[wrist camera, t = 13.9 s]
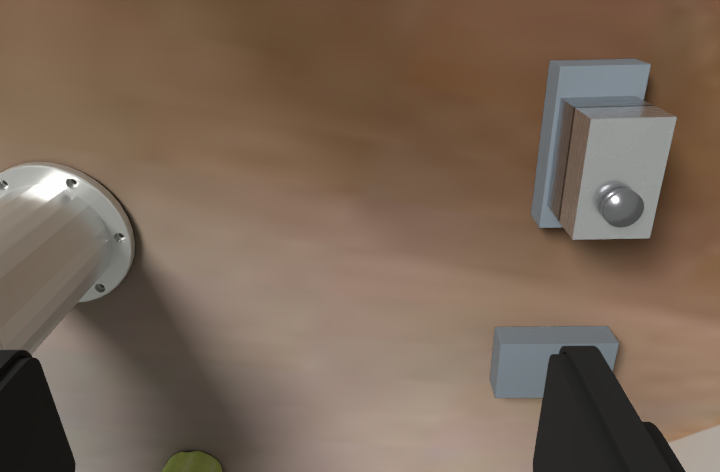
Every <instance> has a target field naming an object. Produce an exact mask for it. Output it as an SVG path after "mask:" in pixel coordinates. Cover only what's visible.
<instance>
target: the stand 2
mask: <svg viewBox="0 0 720 472" xmlns="http://www.w3.org/2000/svg"><path fill="white" fill-rule="evenodd" d="M562 346H596V347H597V348H598V349H599V350H600V352H601V353H602V355H603V357H604V358H605V360H606V362H607V363H608V365H609V367H610V369H611V370H612V372H613V368H614V364H615V359H616V355H617V350H618V346H619V342H618V341H617V339H616V338H615V336H614V335H613V333H612V332H611V330H610V329H609V327H608V326H559V327H495V332H494V342H493V352H492V362H491V372H490V382H491V385H492V389H493V393H494V396H495V398H543V394H544V388H545V381H546V375H547V368H548V362H549V358H550V356H551V355H552V354H559V351H560V349H561V347H562Z"/></svg>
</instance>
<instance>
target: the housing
mask: <svg viewBox="0 0 720 472" xmlns="http://www.w3.org/2000/svg"><path fill="white" fill-rule="evenodd" d="M676 118H677V117H676V116H674V115H672V114H670V113H668V112H666V111H664V110H662V109H660V108H658V107H656V106H654V105H652V104H650V103H648V102H646V101H644V100H642V99H640V98H638V97H636V96H606V97H569V98H560V106H559V114H558V122H557V129H556V137H555V145H554V153H553V161H552V169H551V177H550V184H549V192H548V200H547V206H548V207H549V208H550V210H551V211H552V213H553V214H554V215H555V217H556V218H557V219H558V221H559V222H560V223H561V225H562V226H563V228H564V229H565V230H566V232H567V233H568V234H569V236H570V237H571V239H572V240H586V239H641V238H650V235H651V231H652V226H653V222H654V217H655V213H656V208H657V204H658V199H659V195H660V190H661V186H662V181H663V177H664V172H665V168H666V163H667V159H668V154H669V150H670V145H671V141H672V136H673V132H674V127H675V123H676Z"/></svg>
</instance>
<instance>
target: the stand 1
mask: <svg viewBox="0 0 720 472" xmlns="http://www.w3.org/2000/svg"><path fill="white" fill-rule="evenodd" d="M650 66H651V64H649V63H646V62H643V61H640V60H637V59H602V60H559V61H550V62H549V70H548V78H547V86H546V95H545V103H544V111H543V119H542V128H541V136H540V144H539V153H538V161H537V169H536V177H535V186H534V194H533V202H532V210H531V215H532V217H533V219H534V220H535V222H536V223H537V225H538V226H539V228H560V227H563V226H562V225H561V223H560V222H559V221H558V219H557V218H556V217H555V215H554V214H553V213H552V211H551V210H550V208H549V207H548V206H547V200H548V192H549V184H550V177H551V169H552V161H553V153H554V145H555V137H556V129H557V122H558V114H559V106H560V98H569V97H606V96H636V97H638V98H640V99H642V100H644V96H645V91H646V86H647V81H648V76H649V71H650Z"/></svg>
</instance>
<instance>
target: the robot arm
mask: <svg viewBox="0 0 720 472" xmlns="http://www.w3.org/2000/svg"><path fill="white" fill-rule="evenodd" d="M134 254H135V240H134V234H133V229H132V227H131V224H130V222H129V219H128V216H127V215H126V213H125V212H124V210H123V208H122V207H121V205H120V203H119V202H118V201H117V200H116V199H115V198H114V197H113V195H112V194H111V193H110V192H109V191H108V190H107V189H105V188H104V187H103V186H102V185H101V184H100V183H98V182H97V181H96V180H94V179H92V178H91V177H89V176H87V175H86V174H84V173H82V172H80V171H78V170H75V169H73V168H70V167H68V166H64V165H60V164H56V163H49V162H30V163H23V164H20V165H17V166H14V167H11V168H9V169H7V170H5V171H3V172H1V173H0V472H75V460H74V457H73V454H72V451H71V449H70V446H69V443H68V440H67V437H66V434H65V432H64V429H63V426H62V423H61V420H60V417H59V415H58V412H57V409H56V406H55V403H54V400H53V398H52V395H51V392H50V389H49V386H48V383H47V381H46V378H45V375H44V372H43V369H42V366H41V364H40V362H39V360H38V359H36V358H33V357H32V356H31V355H32V354H33V352H34V351H35V350H36V349H37V348H38V347H39V346H40V344H41V343H42V342H43V341H44V340H45V339H46V338H47V337H48V335H49V334H50V333H51V332H52V331H53V330H54V329H55V327H56V326H57V325H58V324H59V323H60V322H61V321H62V320H63V318H64V317H65V316H66V315H67V314H68V313H69V312H70V310H71V309H72V308H73V307H74V306H75V305H76V304H77V303H79V302H88V301H91V300H95V299H98V298H100V297H102V296H104V295H106V294H108V293H110V292H111V291H112V290H113V289H115V288H116V287H117V286H118V285H119V284H120V283H121V281H122V280H123V279H124V278H125V277H126V275H127V273H128V271H129V270H130V268H131V266H132V262H133V258H134ZM533 472H685V470H684V469H683V467H682V465H681V464H680V462H679V460H678V459H677V457H676V456H675V454H674V453H673V451H672V449H671V448H670V446H669V444H668V443H667V441H666V439H665V438H664V436H663V435H662V433H661V432H660V431H659V429H658V428H657V427H656V426H655V425H654V424H652V423H651V422H642V421H641V419H640V418H639V416H638V414H637V413H636V411H635V409H634V407H633V406H632V404H631V402H630V401H629V399H628V397H627V396H626V394H625V392H624V391H623V389H622V387H621V385H620V384H619V382H618V380H617V379H616V377H615V375H614V374H613V372H612V370H611V369H610V367H609V365H608V363H607V362H606V360H605V358H604V357H603V355H602V353H601V352H600V350H599V349H598V348H597V347H596V346H562V347H561V349H560V351H559V354H552V355H551V356H550V358H549V362H548V368H547V375H546V381H545V388H544V394H543V400H542V407H541V413H540V420H539V426H538V432H537V439H536V445H535V452H534V458H533Z"/></svg>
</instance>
